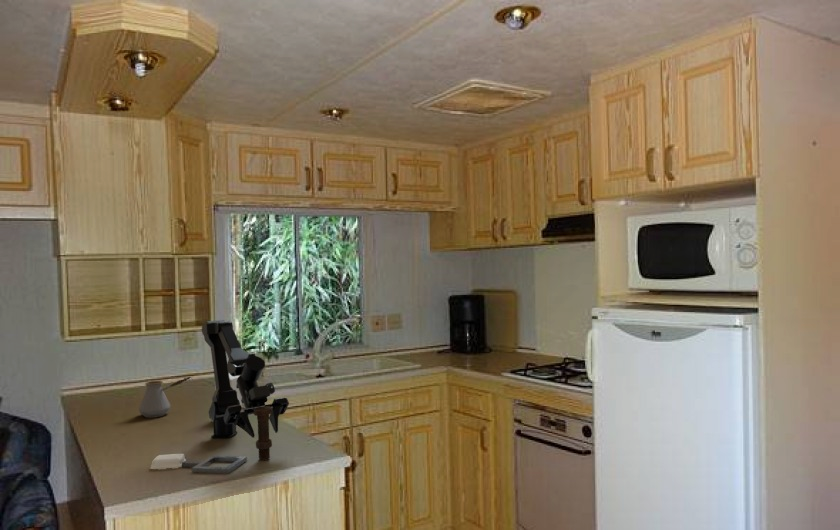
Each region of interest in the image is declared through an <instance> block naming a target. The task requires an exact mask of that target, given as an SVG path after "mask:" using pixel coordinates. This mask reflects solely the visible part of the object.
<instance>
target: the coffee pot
mask: <svg viewBox="0 0 840 530" xmlns="http://www.w3.org/2000/svg"><path fill="white" fill-rule="evenodd" d="M190 379H191V380H190ZM187 381H189V382H191V383H192V382H193V377H191V376H187V377H184V378H183V379H180V380H179V379H178V380H177V381H175V382H173V383H172V384H169V385H168V386H165V387H162V384H164V382H163V381H162V380H153V381H148V382H145V383H144V385H145V386H146V390H145V392H144V395H143V397H142V400H141V403H140V405H139V407H138V412H139V414H140V415H142V416H144V417H145V418H149V419H150V418H158V417H159V418H160V417H164V416H165V415H166V414H167V413H168V412H169V411H170V409H171V403H170V401H169V400H168V398H167V396H166V394H165V392H164V391H166V390H168V389H169V388H170V389H171V388H172V387H175V386H178V385H181V384H182V383H184V382H187Z"/></svg>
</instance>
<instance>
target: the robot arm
mask: <svg viewBox="0 0 840 530" xmlns="http://www.w3.org/2000/svg"><path fill="white" fill-rule="evenodd" d="M201 333H202V335H203V337H204V341H205V343H206V344H207V345H208V346H209V347H210V353H211V360H212V367H213V375H214V386H215V385H216V391H215V390H214V393H213V395H212V397H211V399H212V402H211V405H210V408H209V410H208V417H209V419H210V420H212V422H213V423H212V424H213V427H212V428H213V429H212V430H213V434H212V435H211V436H210V438H216V439H217V438H219V439H221V438H222V439H225V438H226V439H227V438H228V439H229V438H231V437H233V436H235V435H237V434H238V431H237V427H238V428H240V429H242V430H243V431H244V432H246V434H248V435H249V436H250V437H251V438H255V432H254V428H253V427H252V426H253V425H252V423H251V421H250V419H249V415H254V409H255V408H257V407H264V406H268V407H272V414H269V423H270V424H271V426H272V429H273V431H274V432H275V433H276V434H277V433H278V432H279V416H280V415H284V414H285V413H286V411H287V408H288V407H289V404H290V402H289V399H288V398H287V397H285V396H284V397H283V396H282V397H278V398H277V397H276V398H273V400H272V403H270V404H269V403H268V404H266V403H267V402H268V397H270V396H271V395H273V394H274V393H275V392H276V389H275V388H276V387H275V386H274V383H273V382H267V383H266V384H265V385H264V384H263V385H259V383H258V380H260V379H261V376H262V373H263V371H264V369H265V366H266V361H265V360H264V359H263V358H262V357H260V356H257V355H256V353H255V352H254V353H249V352H248V351H245V350H243V348H242V346H241V344H240V342H239V339H238V337H237V335H236V333H235V330H234V325H233V322H232V321H230V320H226V321H225V320H224V319H220V320H218V319H217V320H208V321H207V320H206V321H204V324H202V326H201ZM227 357H228V358H227ZM229 373H230V375H231V376H239V377H238V379H237V381H236V382H237V384H236V388H239V391H240V394H241V397H242V399H241V402H242V404H243V406H242V407H241V405H240V402H239V400H238V398H237V392H236V390H233V389H232V387H231V386H230V380H229Z"/></svg>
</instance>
